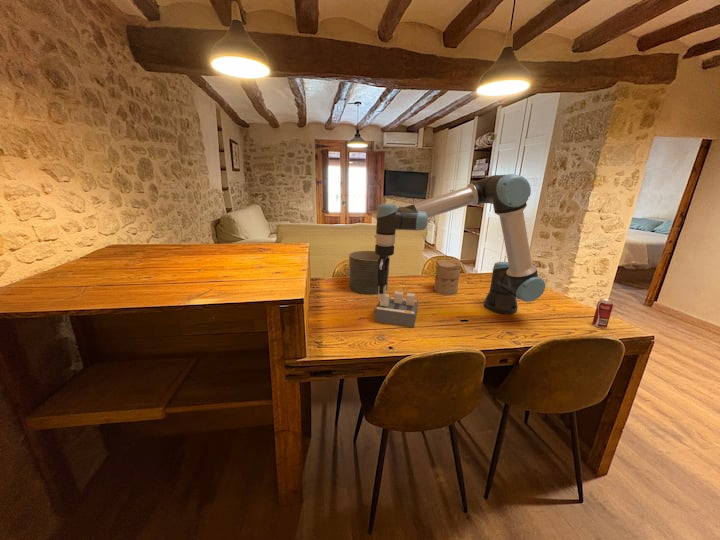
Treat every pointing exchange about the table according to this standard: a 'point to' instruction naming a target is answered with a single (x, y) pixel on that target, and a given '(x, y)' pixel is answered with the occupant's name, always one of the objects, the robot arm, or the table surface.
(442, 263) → the container
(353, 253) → the planter
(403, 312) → the switch bank
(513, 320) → the table surface
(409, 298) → the slider right
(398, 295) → the slider mid
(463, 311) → the table surface
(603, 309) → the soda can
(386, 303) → the block
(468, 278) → the table surface
